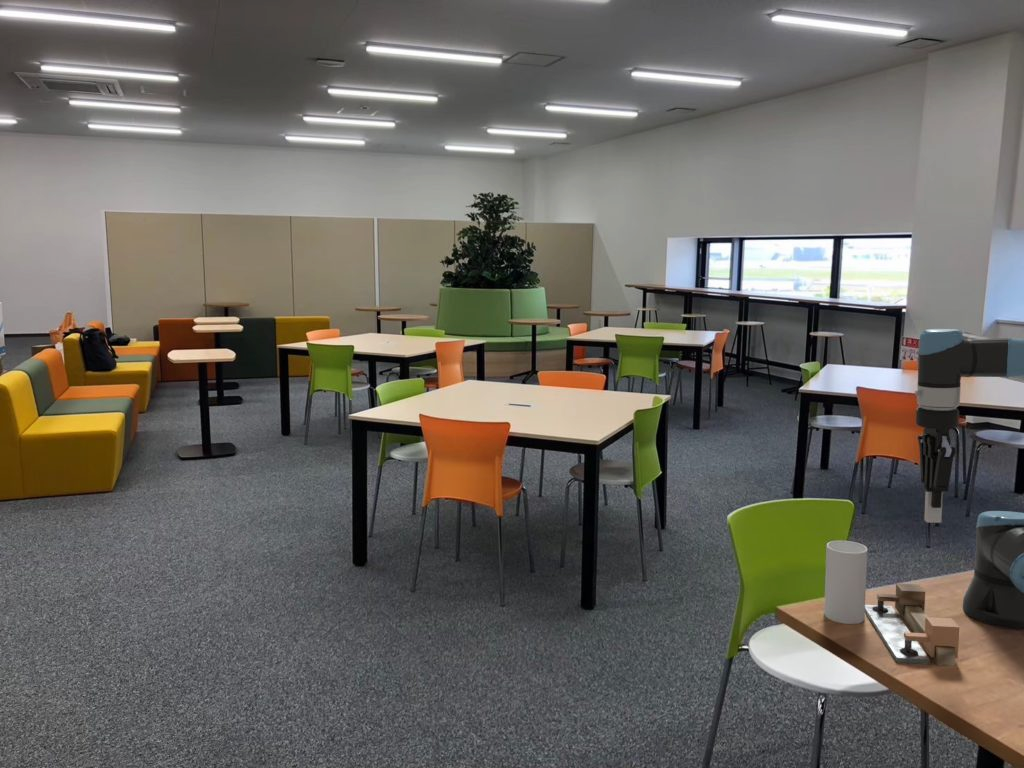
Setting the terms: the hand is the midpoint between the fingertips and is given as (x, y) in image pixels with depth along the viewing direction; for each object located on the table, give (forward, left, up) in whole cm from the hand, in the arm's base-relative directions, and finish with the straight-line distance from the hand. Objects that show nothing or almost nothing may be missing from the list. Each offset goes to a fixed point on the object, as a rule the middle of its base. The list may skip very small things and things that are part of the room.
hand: (932, 521), depth 159 cm
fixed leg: (+2, -11, -24) cm, 26 cm away
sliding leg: (+2, +8, -24) cm, 26 cm away
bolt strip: (+6, -1, -25) cm, 26 cm away
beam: (0, -1, -25) cm, 25 cm away
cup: (+14, -9, -25) cm, 30 cm away
